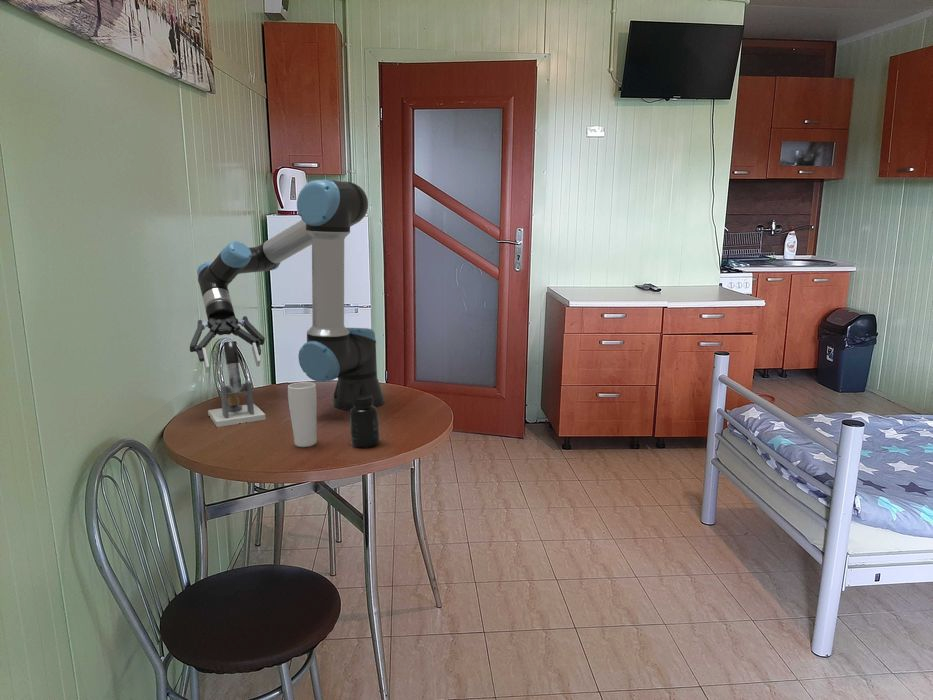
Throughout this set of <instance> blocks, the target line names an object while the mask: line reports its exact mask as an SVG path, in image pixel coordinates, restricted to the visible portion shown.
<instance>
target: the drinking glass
mask: <svg viewBox="0 0 933 700" xmlns="http://www.w3.org/2000/svg"><path fill="white" fill-rule="evenodd" d="M317 397H318V394H317V384H316V383H314V382H312V381H311V382H310V381H301V382H295V383H291V384H288V386H287V399H288V400H287V401H288V408H289V413H290V420H291V421H290V422H291V428H292V432H293V439H294V440H293V443H294V445H295V447H298V448H308V447H312V446H314V445H315V444H317V420H318V419H317V414H318V411H317V410H318V398H317Z"/></svg>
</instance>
